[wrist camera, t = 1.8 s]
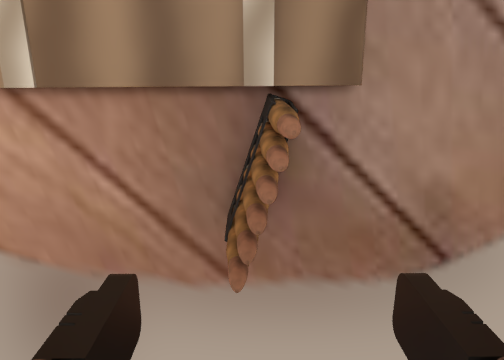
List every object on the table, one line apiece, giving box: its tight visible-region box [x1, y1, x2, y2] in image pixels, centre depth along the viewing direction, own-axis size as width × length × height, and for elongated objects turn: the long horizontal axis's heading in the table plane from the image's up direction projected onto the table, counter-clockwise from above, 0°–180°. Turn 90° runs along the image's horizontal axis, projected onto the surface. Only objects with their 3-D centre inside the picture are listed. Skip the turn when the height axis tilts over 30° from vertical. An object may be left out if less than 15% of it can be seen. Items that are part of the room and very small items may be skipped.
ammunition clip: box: [225, 94, 301, 293], centre depth 24 cm, size 11×2×12 cm, turn 162°
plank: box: [0, 0, 368, 88], centre depth 26 cm, size 26×7×3 cm, turn 90°
